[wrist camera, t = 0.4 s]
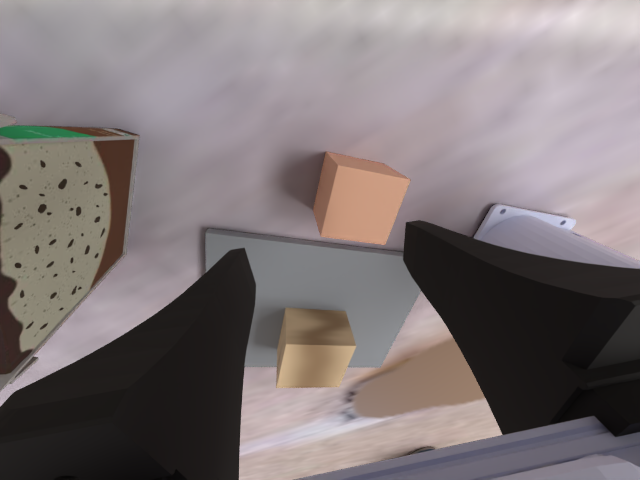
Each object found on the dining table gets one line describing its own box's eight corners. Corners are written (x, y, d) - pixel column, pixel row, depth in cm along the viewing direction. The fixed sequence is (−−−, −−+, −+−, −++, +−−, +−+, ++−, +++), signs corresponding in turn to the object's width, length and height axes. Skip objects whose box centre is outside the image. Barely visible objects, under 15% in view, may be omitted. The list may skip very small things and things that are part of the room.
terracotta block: (383, 163, 18) (410, 179, 14) (365, 217, 20) (385, 245, 16) (325, 151, 17) (338, 165, 13) (312, 209, 19) (320, 236, 15)
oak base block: (345, 311, 24) (356, 346, 21) (331, 350, 27) (338, 387, 23) (285, 307, 23) (286, 344, 19) (277, 349, 25) (276, 387, 22)
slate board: (432, 255, 23) (436, 260, 22) (378, 361, 30) (380, 367, 30) (208, 228, 19) (205, 232, 18) (208, 359, 26) (206, 366, 25)
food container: (8, 54, 12) (-600, -51, 4) (142, 110, 14) (-66, 122, 6) (26, 246, 17) (-223, 386, 9) (124, 268, 19) (-2, 401, 11)
